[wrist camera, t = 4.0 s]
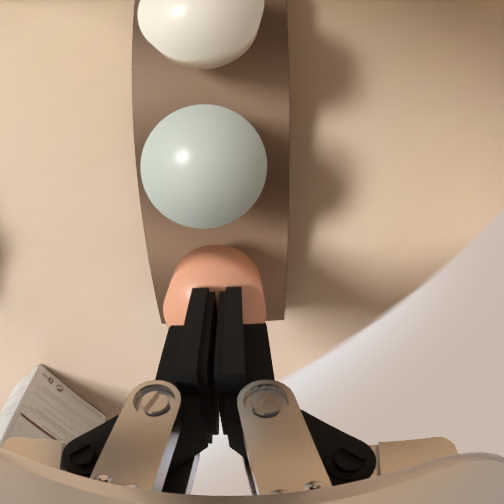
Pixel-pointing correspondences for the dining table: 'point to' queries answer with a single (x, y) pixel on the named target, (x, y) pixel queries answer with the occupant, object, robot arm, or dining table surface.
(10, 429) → the supplement box
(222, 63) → the cream button
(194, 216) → the sage button
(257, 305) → the terracotta button
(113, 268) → the dining table surface
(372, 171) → the dining table surface
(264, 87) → the button plate
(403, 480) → the robot arm
